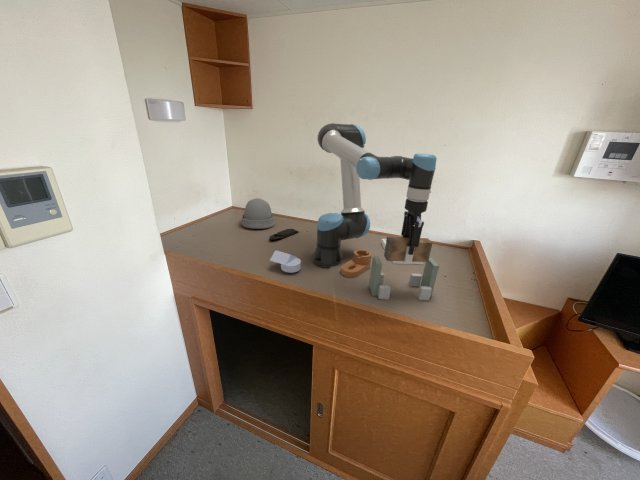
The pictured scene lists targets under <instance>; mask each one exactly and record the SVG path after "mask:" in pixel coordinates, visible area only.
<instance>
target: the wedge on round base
mask: <svg viewBox="0 0 640 480" xmlns="http://www.w3.org/2000/svg"><path fill="white" fill-rule="evenodd" d="M269 261H270V262H274V263H276V264H280V268H281V271H283V272H284V273H292V274H293V273H297V272H299V271H300V270H301V267H302V266H301V265H302V260H301V259H300V258H298V257H296V256H294V255H293V254H290V253H286V252H283V251H280V250H274V252H273V254H272V256H271V257H270V259H269Z"/></svg>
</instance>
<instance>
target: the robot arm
mask: <svg viewBox="0 0 640 480" xmlns="http://www.w3.org/2000/svg"><path fill="white" fill-rule="evenodd" d="M316 140H317V143H318V146H319V147H320V148H321V149H322V150H323V151H324V152H326V153H328V154H333V155H334V156H336V157H338V158H339V160H340V174H341V188H342V189H341V191H342V202H343V209H342V210H341V212H340V213H337V212H334V213H333V212H328V213H325V214H322V215H320V217H319V218H318V220H317V224H316V228H317V229H316V231H317V233H316V246H315V248H314V251H313V253H312V259H311V260H312V263H313V264H314V265H316V266H319V267H322V268H333V267H336V266H340V265H341V264H342V263H343V261H344V256H343V253H342V248H341V245H342V241H344V240H350V239H359V238H363V237H365V236H366V235H367V234H368V233H369V231H370V229H371V220H370V218H369V215H367V214H366V213H365V209H364V208H363V207H362V199H361V198H362V197H361V180H360V179H362V180H370V181H371V180H380V179H381V180H382V179H387V180H388V179H403V180H408V186H407V190H406V191H407V192H406V200H405V203H404V209H405V210H406V211H404V213H403V214H404V215H403V221H402V229H401V234H400V235H401V236H402V237H403V238H409V245H407V249H406V254H405V260H404V261H405V262H412V259H413V254H414V249H415V247H418V246H419V241H420V238H421V236H422V231H423V227H424V225H425V222H424V221H422V213H425V212H426V211H427V209H428V203H429V201H428V200H429V199H430V194H431V193H432V191H431V188H432V183H433V179H434V175H435V173H436V172H435V171H436V167H437V166H436V165H437V159H438V158H437V156H436V155H435V154H433V153H432V154H431V153H419V152H417V153H414V154H413V158H410V157H405V156H402V155H392V156H377V155H376V154H373V153H372V152H370V151H368V150H367V149H365V144H366V141H367V138H366V133H365V131H364V129H363V128H362V127H361V126H360V125H359V124H358V125H356V124H353V123H352V124H348V123H345V124H343V123H335V122H334V123H327V124H325V125H323V127H321V128H320V130H319V131H318V134H317V139H316Z"/></svg>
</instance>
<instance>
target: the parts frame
mask: <svg viewBox="0 0 640 480" xmlns="http://www.w3.org/2000/svg"><path fill="white" fill-rule="evenodd" d="M386 240H387V238H381V242H380V244H381V246H382V247H383V249H384V250H385V246H386ZM391 263H392V264H396V265H397V264H399V265H400V264H401V265H423V264H424V262H405V261H391Z"/></svg>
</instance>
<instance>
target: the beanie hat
mask: <svg viewBox="0 0 640 480" xmlns="http://www.w3.org/2000/svg"><path fill="white" fill-rule="evenodd" d="M275 225H276V222H275V218H274V214H273V213H272V208H271V206H270V204H269V203H268V201H266V200H264V199H262V198H260V197H259V198H257V197H256V198H253V199H250V200H248V201H247V203H246V204H245V207H244V211H243V214H242V215H241V226H243V228H247V229H252V230H253V229H259V230H260V229H261V230H262V229H269V228H272V227H274V226H275Z"/></svg>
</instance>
